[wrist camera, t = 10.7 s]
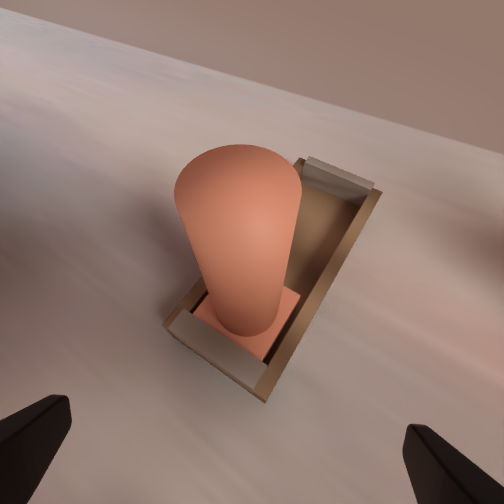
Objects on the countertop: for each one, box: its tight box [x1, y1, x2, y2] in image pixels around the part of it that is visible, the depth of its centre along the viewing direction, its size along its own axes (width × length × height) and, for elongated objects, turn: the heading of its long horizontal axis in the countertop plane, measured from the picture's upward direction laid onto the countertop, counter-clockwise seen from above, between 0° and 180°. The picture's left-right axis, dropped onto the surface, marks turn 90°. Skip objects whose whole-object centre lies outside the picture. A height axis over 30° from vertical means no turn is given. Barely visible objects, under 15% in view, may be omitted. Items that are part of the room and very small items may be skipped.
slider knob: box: [174, 145, 302, 362], centre depth 13 cm, size 4×5×11 cm
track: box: [162, 156, 382, 403], centre depth 19 cm, size 16×7×4 cm, turn 147°
